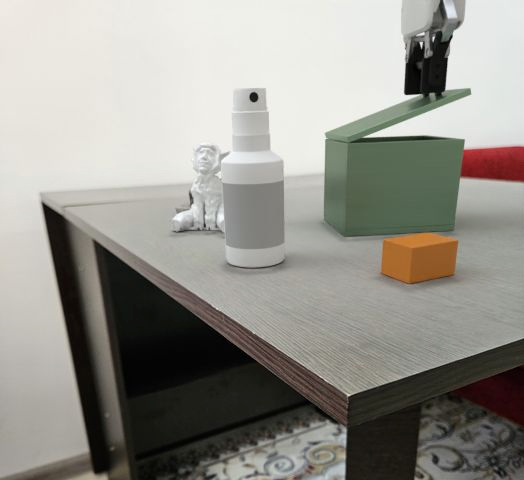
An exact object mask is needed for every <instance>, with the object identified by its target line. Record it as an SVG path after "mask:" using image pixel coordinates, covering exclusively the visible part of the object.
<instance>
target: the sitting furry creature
mask: <svg viewBox="0 0 524 480" xmlns="http://www.w3.org/2000/svg"><path fill="white" fill-rule="evenodd" d="M192 150H193V157H192V158H191V162H192V165H193V167H192V169H193V170H194V171H195V172H196V173H197V175H196V176H195V177H194V178H193V181H192V182H193V183H192V185H191V187H190V189H191V191H190V193H191V194H192V197H193V198H194V199H193V201H194V203H193V204H192V205H191V209H190V210H189V211H188V210H187V211H184V212H181V213H179V214H177V213H176V214H175V215H174V216H173V217H172V218H171V219H170V220H169V221H168V222H169V227H170V229H171V230H172V231H173V232H176V233H179V232H184V231H198V230H199V231H203V230H206V231H221V232H222V233H223V234H225V228H224V211H223V194H222V182H221V181H220V180H219V179H220V177H219V176H218V175H217V174H218V173H219V172H221V161H222V160H223V159H224V158H225V157H226V156H227V155H229V154H230V153H231V151H230V150H228V151H224V152H222V151H221V148H220V147H219V146H218V145H216V144H214V143H212V142H210V141H207V142H205V141H203V142H200V143H199V144H198V145H196V147H193V149H192Z"/></svg>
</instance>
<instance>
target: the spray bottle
mask: <svg viewBox="0 0 524 480" xmlns="http://www.w3.org/2000/svg"><path fill="white" fill-rule="evenodd" d="M232 103H233V107H232V112H231V126H232V133H231V143H232V151H230V154H229V155H227V156H226V157H225V158H224V159H223V160H222V161H221V171H220V174H221V175H220V176H221V177H220V179H221V178H222V194H223V211H224V228H225V233H224V240H225V241H224V243H225V258H226V261H227V263H228V264H230V265H231V266H235V267H240V268H249V269H250V268H253V269H254V268H267V267H272V266H275V265H278V264H280V263H282V262H283V261H284V259H285V257H286V255H285V254H286V253H285V250H286V249H285V248H286V246H285V244H286V243H285V240H286V239H285V182H284V181H285V171H284V170H285V169H284V168H285V166H284V164H285V163H284V159H283V158H282V157H281V156H280V155H279V154H277V153H275V152H274V151H272V150H271V132H270V111H268V106H267V88H266V87H241V88H233V89H232Z"/></svg>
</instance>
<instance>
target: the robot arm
mask: <svg viewBox="0 0 524 480" xmlns="http://www.w3.org/2000/svg"><path fill="white" fill-rule="evenodd" d="M466 2H467V0H401V12H400V13H401V14H400V32H401V35H402V36H403V38H402V39H403V43H404V50H405V55H404V63H405V65H404V66H405V67H404V83H403V95H404V96H419V95H422V94H424V93H441V92H444V91H445V90H447V89H446V88H447V76H448V65H449V63H448V61H449V56H450V54H451V41H452V39H453V38H454V32H455V31H456V30H458V29H459V28H460V27H461V26H462V25H463V24H464V21H465V15H466V5H467V4H466ZM433 38H434V39H433ZM421 43H422V45H421ZM422 58H423V59H422ZM418 59H422V70H421V83H420V78H419V74H416V73H415V72H414V70H413V65H414V63H415V61H416V60H418Z"/></svg>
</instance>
